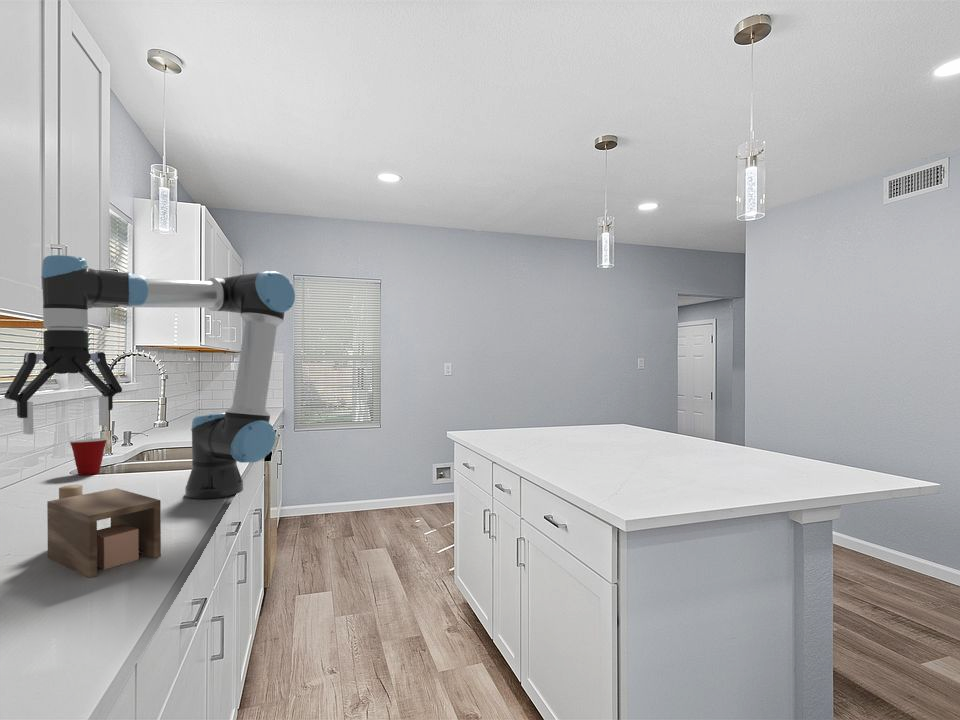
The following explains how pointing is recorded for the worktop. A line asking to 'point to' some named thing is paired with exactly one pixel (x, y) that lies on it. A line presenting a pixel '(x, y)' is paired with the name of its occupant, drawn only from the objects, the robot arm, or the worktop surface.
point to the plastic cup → (88, 455)
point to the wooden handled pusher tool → (110, 538)
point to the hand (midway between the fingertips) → (68, 429)
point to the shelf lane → (78, 526)
